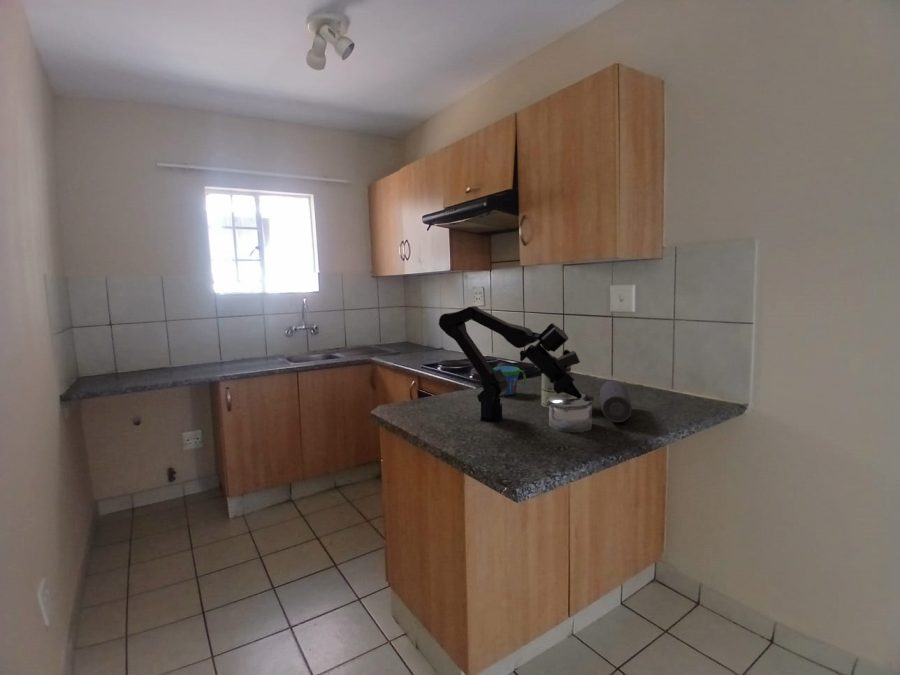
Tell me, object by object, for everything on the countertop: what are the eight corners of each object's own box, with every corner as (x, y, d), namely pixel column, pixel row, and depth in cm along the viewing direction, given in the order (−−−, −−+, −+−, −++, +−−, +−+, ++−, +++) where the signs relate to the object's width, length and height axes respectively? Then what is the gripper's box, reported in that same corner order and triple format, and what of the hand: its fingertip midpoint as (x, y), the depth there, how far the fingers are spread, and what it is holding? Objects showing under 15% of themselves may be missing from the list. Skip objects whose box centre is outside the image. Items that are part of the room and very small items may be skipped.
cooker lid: (547, 408, 129) (547, 400, 129) (545, 397, 142) (544, 390, 141) (596, 407, 127) (595, 399, 126) (589, 395, 139) (588, 388, 139)
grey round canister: (550, 431, 130) (550, 409, 129) (547, 418, 142) (547, 398, 141) (594, 433, 128) (595, 410, 127) (588, 420, 140) (588, 399, 139)
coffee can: (539, 401, 164) (539, 363, 162) (567, 401, 163) (568, 363, 161) (542, 409, 153) (542, 369, 152) (572, 409, 152) (573, 369, 151)
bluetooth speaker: (633, 427, 132) (634, 395, 131) (600, 425, 135) (601, 393, 134) (626, 407, 154) (627, 379, 153) (598, 405, 157) (599, 378, 155)
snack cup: (487, 397, 171) (486, 371, 169) (486, 390, 181) (485, 366, 180) (527, 396, 170) (527, 371, 169) (524, 390, 180) (524, 365, 179)
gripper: (566, 346, 123) (606, 386, 123) (560, 338, 141) (595, 372, 141) (537, 374, 125) (577, 412, 125) (535, 362, 144) (569, 396, 143)
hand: (580, 397), depth 133 cm, fingers closed, pressing on cooker lid
